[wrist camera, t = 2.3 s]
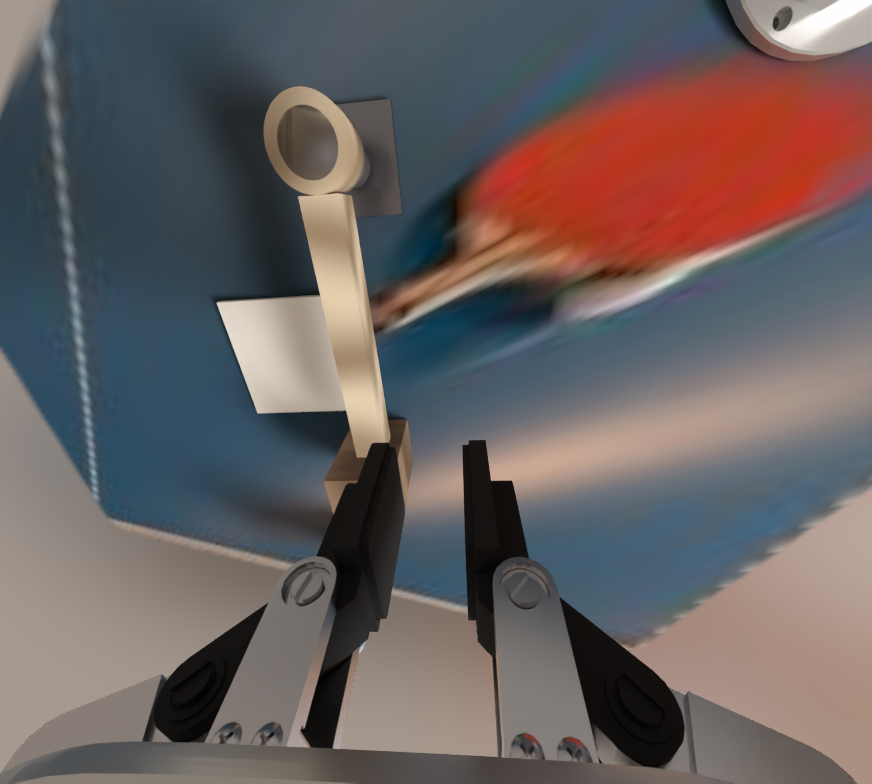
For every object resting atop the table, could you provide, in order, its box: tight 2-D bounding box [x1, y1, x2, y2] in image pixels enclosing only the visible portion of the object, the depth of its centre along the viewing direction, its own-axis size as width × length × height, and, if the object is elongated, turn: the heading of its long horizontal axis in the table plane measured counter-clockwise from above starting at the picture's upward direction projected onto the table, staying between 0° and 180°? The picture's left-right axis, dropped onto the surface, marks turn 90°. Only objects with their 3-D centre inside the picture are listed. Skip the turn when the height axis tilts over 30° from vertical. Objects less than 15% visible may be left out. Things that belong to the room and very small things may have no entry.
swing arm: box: [264, 87, 390, 457], centre depth 22 cm, size 20×4×6 cm, turn 4°
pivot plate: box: [310, 99, 403, 218], centre depth 21 cm, size 6×6×1 cm
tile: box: [217, 295, 346, 413], centre depth 28 cm, size 10×10×1 cm
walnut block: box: [324, 419, 413, 514], centre depth 28 cm, size 5×5×8 cm
